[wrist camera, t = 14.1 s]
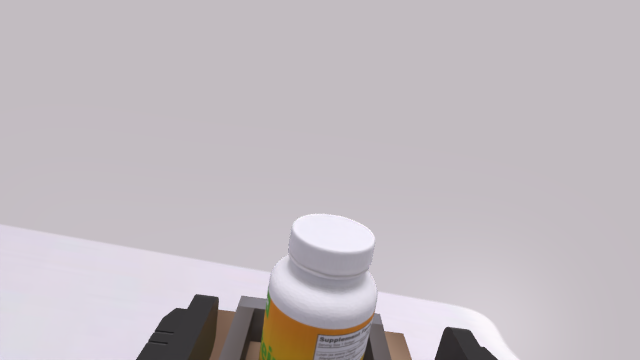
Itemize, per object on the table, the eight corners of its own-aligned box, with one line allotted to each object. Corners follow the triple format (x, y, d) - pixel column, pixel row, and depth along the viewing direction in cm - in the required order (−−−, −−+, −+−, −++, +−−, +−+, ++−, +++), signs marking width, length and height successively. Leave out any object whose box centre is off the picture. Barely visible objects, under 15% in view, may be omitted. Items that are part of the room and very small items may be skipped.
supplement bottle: (244, 361, 20) (263, 207, 17) (327, 344, 22) (355, 207, 19) (268, 455, 15) (299, 265, 12) (370, 422, 17) (415, 255, 15)
